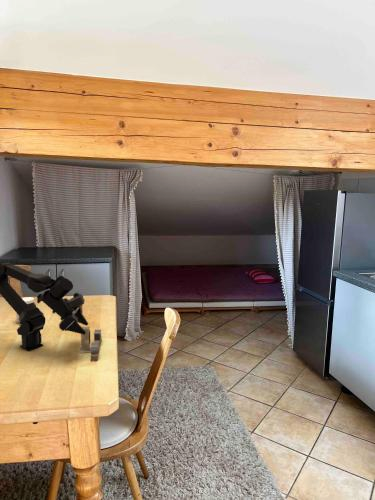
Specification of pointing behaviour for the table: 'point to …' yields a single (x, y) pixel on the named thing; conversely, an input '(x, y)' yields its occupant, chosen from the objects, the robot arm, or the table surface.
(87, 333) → the tan wooden block
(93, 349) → the rail
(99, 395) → the table surface
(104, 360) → the table surface
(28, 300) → the spread jar
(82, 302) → the robot arm
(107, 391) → the table surface
